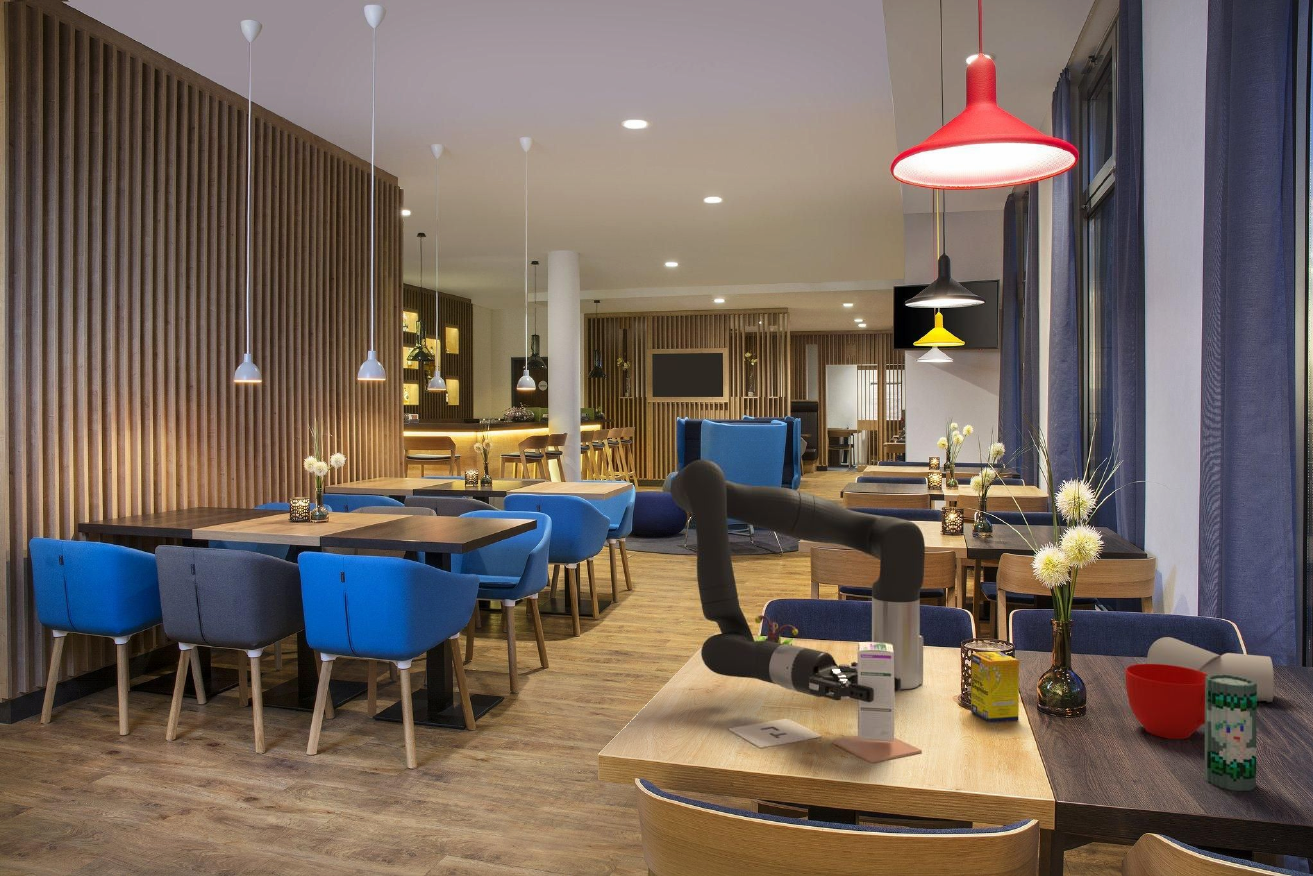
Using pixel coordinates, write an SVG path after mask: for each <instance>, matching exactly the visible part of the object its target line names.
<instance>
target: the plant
mask: <svg viewBox="0 0 1313 876" xmlns="http://www.w3.org/2000/svg"><path fill="white" fill-rule="evenodd" d="M754 620H755V624H761V623H762V622H763V620H765V621H766V623H767V635H766V638H765V637H763V636H762V635H757V639H758V640H757V639H755V638H754V642H755V641H770V642H775V643H779V644H784V645H793V643H792V642H793V641H794V640H795V639H794V637H793V638H788V639H786V640H784V641H783V642H782V636H781V634H782V632H783V631H784V630H785V629H786V628H790V629H791V633H792V635H794V636H797V635H798V634H799V631H798V629H797V628H796V627H795V626H793V625H791V624H784V625H782V626H780V627H779V625H778V623H777V622H775V621H772V622H771V620H770V619H769V617H768V616H766V615H763V614H761V615H757V616H756V617H755V618H754Z"/></svg>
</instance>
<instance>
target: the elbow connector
mask: <svg viewBox="0 0 1313 876" xmlns="http://www.w3.org/2000/svg"><path fill="white" fill-rule="evenodd" d="M1146 657H1147V664H1164V665H1173V666H1179V667H1185V668H1190V669H1194V670H1197V671H1200V672H1203V673H1206V674H1208V675H1212V674H1217V675H1218V674H1225V675H1234V676H1241V677H1245V678H1249V679H1250V680H1254V681H1255V682H1256V683H1257V702H1261V701H1267V702H1266V703H1270V702H1271V703H1272V702H1273V699H1274V693H1275V674H1274V666H1273V661H1272V657H1271V656H1267V655H1266V656H1265V655H1257V654H1256V655H1254V654H1243V653H1233V652H1226V653H1223V654H1221V655H1220V654H1217V653H1214V652H1212V651H1209V650H1208V649H1207V650H1206V649H1204V648H1201V647H1199V646H1196V645H1193V644H1190V643H1187V642H1185V641H1182V640H1179V639H1176V638H1174V637H1170V636H1167V637H1166V636H1164V637H1161V638H1158V639H1157V640H1156V641H1154V642H1153V643H1152V644H1151V645H1150V647H1149V649H1148V652H1147V656H1146Z"/></svg>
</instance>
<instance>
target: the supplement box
mask: <svg viewBox="0 0 1313 876" xmlns="http://www.w3.org/2000/svg"><path fill="white" fill-rule="evenodd" d="M1019 687H1020V660H1019V659H1017V658H1014V657H1012V656H1010V655H1007V654H1005V653H1003V652H1002V651H999V650H998V651H985V652H984V651H983V652H973V653H971V691H970V692H971V694H970V695H971V697H970V698H971V699H970V701H971V702H970V703H971V705H970V707H971V709H970V711H971V713H972V714H974V715H976V716H978V717H980V718H981V719H983V720H985V721H986V722H987V723H990V724H992V723H1004V722H1016V721H1019V709H1020V708H1019V706H1020V705H1019V704H1020V700H1019V697H1020V696H1019V695H1020V688H1019Z"/></svg>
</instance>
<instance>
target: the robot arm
mask: <svg viewBox="0 0 1313 876" xmlns="http://www.w3.org/2000/svg"><path fill="white" fill-rule="evenodd" d="M669 492H670V496H671V498H672V500H673V501H674V503H675V504H676V505H677V506H678V507H679V508H680V509H682V510H684V511H685V512H688V513H692V517H693V521H694V525H695V533H696V548H697V549H696V551H697V552H696V578H697V586H698V593H699V598H700V604H701V609H702V615H703V617H704V618H705V619H706V620H707V621H710V622H715V623H716V624H717V627H718V629H719V631H720V633H717V634H714V635H711V636H709V637H708V638H707V639H706V640H705V641H704V642H703V644H702V646H701V652H700V654H701V659H702V662H703V664H704V665H705V666H706V668H708V669H709V671H712V672H713V673H715V674H717V675H721V676H727V677H733V678H734V677H735V678H745V679H746V678H747V679H756V680H759V681H762V682H766V683H769V684H774V685H777V686H779V687H782V688H784V689H787V690H791V691H794V692H797V693H800V694H801V693H802V694H806V695H810V696H813V697H817V698H826V699H829V700H833V701H841V700H842V698H843V699H846V700H850V699H854V700H857V701H858V700H861V701H865V702H872V701H873V700H874V690H873V688H871V687H867V686H862V685H858V662H855V661H853V662H851V663H850V664H837V663H836V662H837V661H836V660H835V658H834V657H833V655H832V654H830V653H829V652H827V651H826V652H825V651H821V650H817V649H812V648H808V647H803V646H799V645H794V644H792V645H784V644H779V643H775V642H770V641H759V640H757V641H755V642H754V639H755V638H754V635H753V633H752V630H751V628H750V626H749V623H748V622H747V619H746V617H745V615H744V612H743V610H742V608H741V606H740V600H739V595H738V590H737V585H736V583H737V582H736V578H735V574H734V572H735V571H734V568H733V567H734V566H733V563H732V562H733V561H732V557H731V556H732V555H731V554H732V553H731V547H730V541H729V540H730V537H729V530H728V529H729V528H728V520H733V521H737V522H741V523H744V524H746V525H749V526H752V527H756V528H760V529H762V530H765V531H769V532H773V533H776V534H779V535H783V536H786V537H789V538H794V539H797V540H801V541H806V542H811V543H812V542H813V543H818V544H819V543H820V544H829V545H830V544H831V545H839V546H844V547H847V548H851V549H853V550H856V551H858V552H861V553H864V554H866V555H869V556H870V557H873V558H876V559H878V560H879V561H880V564H879V576H878V579H877V580H876V581H875V582H873V584H872V586H871V587H872V588H871V589H872V590H871V642H882V643H889V644H892V645H893V652H894V686H895V692H899V691H901V690H909V689H914V688H917V687H919V686H920V685H922V684H924V637H923V635H920V597H921V596H920V592H921V589H922V587H923V584H924V577H925V556H926V553H925V552H926V545H925V537H924V535H923V532H922V530H921V529H920V527H919V526H918V525H917V524H915V522H912V521H909V520H906V519H903V518H899V517H893V516H887V515H886V516H885V515H884V516H883V515H876V514H870V513H865V512H861V511H860V512H858V511H854V510H851V509H848V508H846V507H843V506H841V505H839V504H837V503H835V502H832V501H831V500H829V499H826V498H823V497H821V496H818V495H815V494H812V493H808V492H805V491H804V492H803V491H800V490H797V489H794V488H786V487H780V486H766V485H762V486H761V485H760V486H759V485H747V484H746V485H745V484H741V483H737V482H732V481H730V480H726V476H725V473H724V472H723V470H722V469H721V467H720V466H719V465H718V464H716V463H715V462H714V461H711V460H708V459H696V460H694V461H692V462H690V463H689V464H687V465H686V466H684V467H683V468H682V469H681V470H680V471H678V473H677V474H675V476H674V477H673V479H672V481H671V483H670V491H669Z"/></svg>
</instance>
